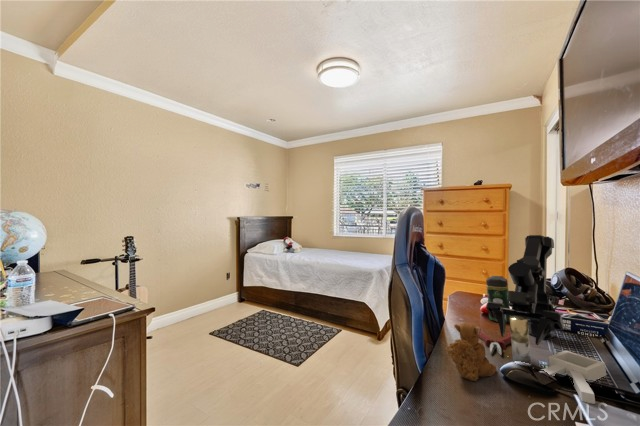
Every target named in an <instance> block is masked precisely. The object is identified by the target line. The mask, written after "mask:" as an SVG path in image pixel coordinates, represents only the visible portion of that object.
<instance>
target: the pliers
mask: <svg viewBox="0 0 640 426" xmlns="http://www.w3.org/2000/svg"><path fill="white" fill-rule="evenodd" d="M478 328H479V332H480V333H481V335H480V333H479V332H478V335H479V340H480V341H481V342H482V341H483V342H484V347H489V353H490V355H492V354H493V353H494V351H495V350H496V352H497V353H498V354H499V355H500V356H503V355H502V353H503V352H502V349H503V350H506V348H507V346H508V345H510V344H512V341H511V331H508V332H507V336H505V337H502V338H499V339H497V340H494V338H493V339H492V338H491V337H490V336H488V335H487V334H485V333H483V332H482V331H481V329H482V328H481V327H478Z"/></svg>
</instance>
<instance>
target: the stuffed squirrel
mask: <svg viewBox="0 0 640 426" xmlns="http://www.w3.org/2000/svg"><path fill="white" fill-rule="evenodd" d="M453 327H454V328H455V330H456V331H457V332H458V333H459V336H460V337H459V338H460V339H455V340H454V341H453V342H452V343H449V345H448V346H447V347H445V350H446V353H445V355H448V356H450V359H451V360H452V362H453V363H454V364H455V367H456V370H457V373H459V374H458V375H459V376H460V377H462V378H464V379H466V380H469V381H472V382H477V381H478V380H479V377H480V378H482V377H491V376H493V375H494V374H495V373H496V371H497V367H496V365H495V364H493V363H490V361H489V359H488V358H487V357H486V349H485V347H486V346H485V344H484V343H483V342H482V340H480V338H479V335H478V332H479V328H480V327H479V326H476V325H475V324H473V323H472V322H463V323H460V325H459V324H454V325H453ZM479 333H480V332H479ZM480 335H481V333H480Z"/></svg>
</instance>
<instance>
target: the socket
mask: <svg viewBox="0 0 640 426" xmlns="http://www.w3.org/2000/svg"><path fill="white" fill-rule="evenodd" d="M548 364H549V365H548V366H547V367H545V368H542V369H541V370H544V371H545V372H547V373H548V374H549V375H552V376H555V374H556V373H559V374H564V373H567V374H570V376H571V377H572V378H573V383H574V385H573V388H574V389H575V390H576V392H577V394H578V396H579V398H580V399H581V402H582V403H587V404H592V405H596V398H595V393H594V391H593V389H592V388H591V387H590V385H589V384H588V383H587V382H586V380H585V379H587V380H596V379H598V378H601V377H603V376H605V375H606V376H607V370H606V363H605V362H604V361H600V360H597V359H594V358H591V357H587V356H585V355H583V354H582V355H581V354H579V353H575V352H572V351H569V350H567V349H566V350H562V351H560V352H558V353H555V354H552V355H549V356H548ZM573 383H572V384H573Z"/></svg>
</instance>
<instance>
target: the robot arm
mask: <svg viewBox="0 0 640 426" xmlns="http://www.w3.org/2000/svg"><path fill="white" fill-rule="evenodd" d="M524 240H525V241H524V246H525V248H524V252H523V256H522V258H520V259H516V262H513V263H511V264H510V265H509V266H508V268H507V270H508V273H509V275H510V278H511V281H512V283H513V284H514V285H515V288H514V290H508V301H509V305H510V307H511V308H510V309H507V308H503V306H502V304H501V303H496V302H488V301H487V303H486V306H485V308H486V309H485V310H487V312H488V315H489V314H490V316H491V317H493V318H495V319H496V320H498V322H497V323H498V327H499V332H500V335H501V337H502V338H504V336H505V334H506V328H507V327H506V326H507V322H506V319H505V315H511V316H520V317H524V318H527V319H528V320H529V321H530V323H529V324H530V331H529V336H534V337H535V345H536V346H538V345H540V343H541V342H542V341H543V340H550V339H553V338H556V337H557V334H555V333H552V332H556V330H557V331H564V325H565V324H564V321H563V320H564V319H563V316H562V314H561V313H560V312H559V311H556V308H555V307H554V304H552V302H551V300H550V297H549V296H548V295H547V260H548V258H549V257H551V255H552V254H553V249H554V248H555V242H554V239H553V238H552V237H550V236H544V235H541V234H529V235H526V237H524Z"/></svg>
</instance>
